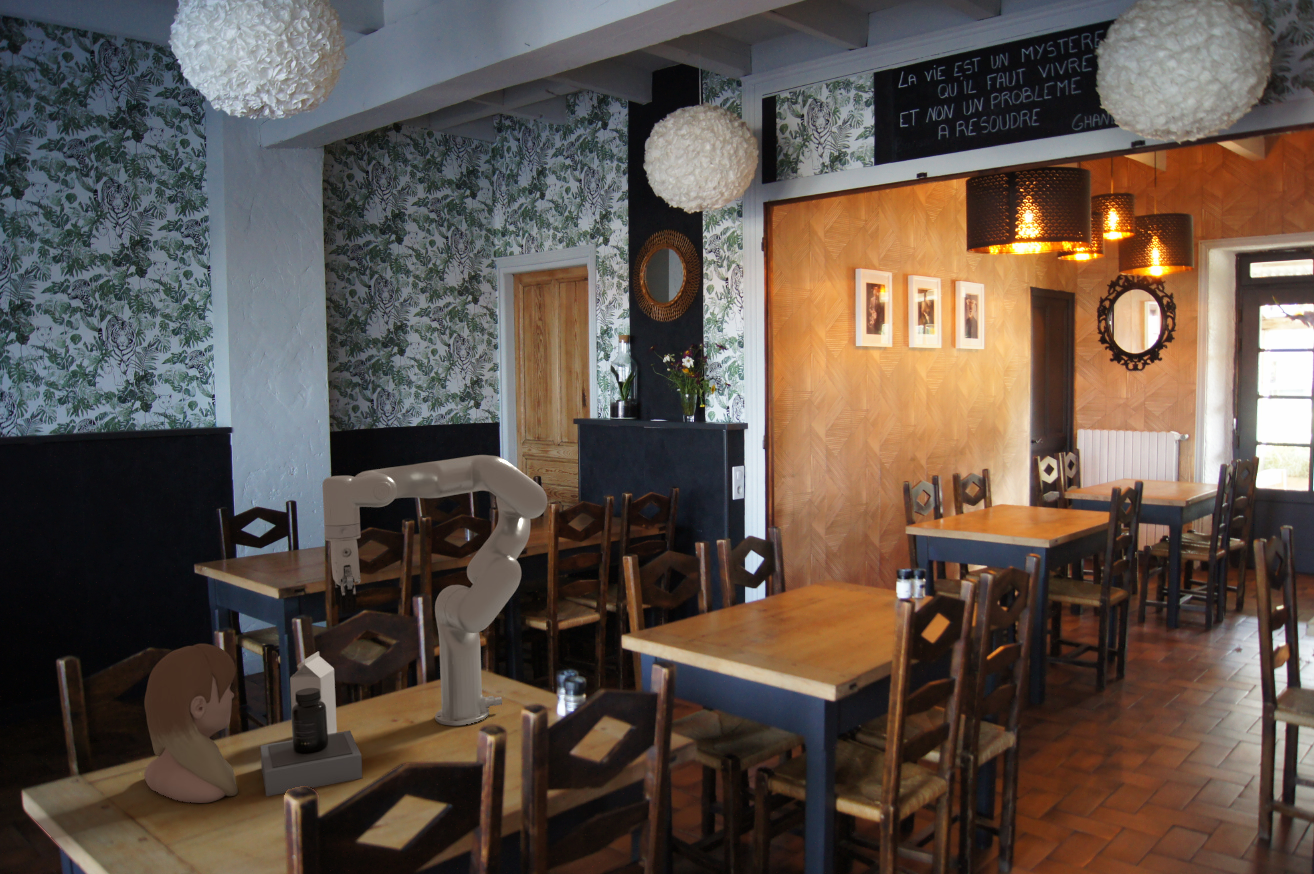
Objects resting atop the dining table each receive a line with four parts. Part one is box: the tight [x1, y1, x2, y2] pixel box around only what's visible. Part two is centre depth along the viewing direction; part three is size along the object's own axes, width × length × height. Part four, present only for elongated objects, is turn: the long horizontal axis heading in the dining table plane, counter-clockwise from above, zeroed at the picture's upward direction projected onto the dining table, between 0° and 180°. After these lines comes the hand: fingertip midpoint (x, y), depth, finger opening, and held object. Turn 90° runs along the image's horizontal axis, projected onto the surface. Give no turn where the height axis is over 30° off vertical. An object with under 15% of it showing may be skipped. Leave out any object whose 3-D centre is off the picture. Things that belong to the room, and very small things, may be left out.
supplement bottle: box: [290, 688, 328, 754], centre depth 196 cm, size 7×7×12 cm
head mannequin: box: [143, 643, 239, 804], centre depth 191 cm, size 25×17×28 cm
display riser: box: [260, 730, 363, 797], centre depth 196 cm, size 18×16×5 cm
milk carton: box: [289, 651, 338, 734], centre depth 216 cm, size 7×7×19 cm
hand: (346, 608), depth 212 cm, fingers open, 9 cm apart
